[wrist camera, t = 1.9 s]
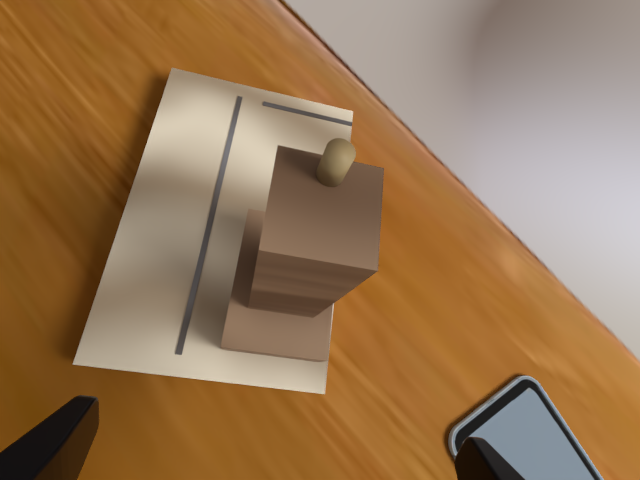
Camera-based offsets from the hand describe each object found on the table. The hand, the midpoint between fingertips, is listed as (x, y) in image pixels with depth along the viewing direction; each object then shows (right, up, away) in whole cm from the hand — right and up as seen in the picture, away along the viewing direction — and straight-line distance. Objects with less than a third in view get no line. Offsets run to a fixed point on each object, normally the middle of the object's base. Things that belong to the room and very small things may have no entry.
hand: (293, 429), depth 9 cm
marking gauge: (-1, +2, +11) cm, 12 cm away
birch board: (-4, +6, +14) cm, 15 cm away
